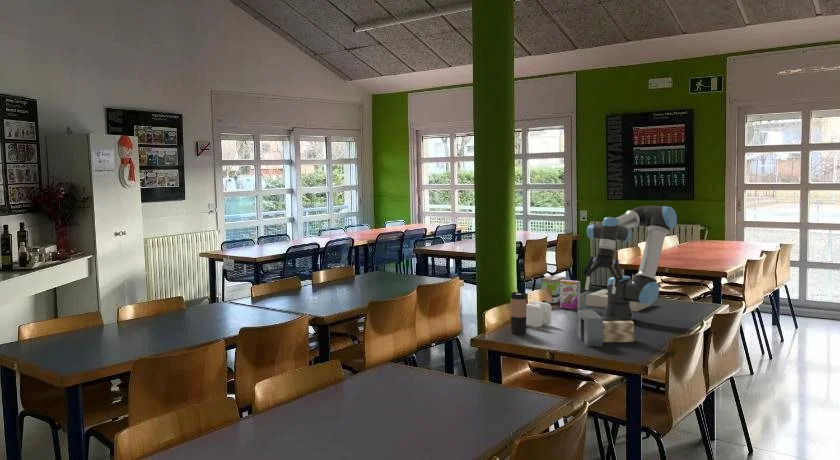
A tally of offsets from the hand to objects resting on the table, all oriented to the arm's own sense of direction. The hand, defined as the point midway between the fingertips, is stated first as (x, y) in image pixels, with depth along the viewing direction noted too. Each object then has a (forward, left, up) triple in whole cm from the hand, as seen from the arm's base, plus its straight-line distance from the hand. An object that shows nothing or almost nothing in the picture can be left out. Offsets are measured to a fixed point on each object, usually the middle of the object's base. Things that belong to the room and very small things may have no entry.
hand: (599, 291), depth 337 cm
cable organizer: (+28, -22, -22) cm, 42 cm away
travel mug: (+39, -5, -21) cm, 45 cm away
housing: (+8, +13, -21) cm, 26 cm away
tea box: (+6, -90, -22) cm, 93 cm away
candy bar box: (+1, -65, -21) cm, 69 cm away
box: (-30, -73, -22) cm, 82 cm away
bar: (-3, +13, -21) cm, 25 cm away
